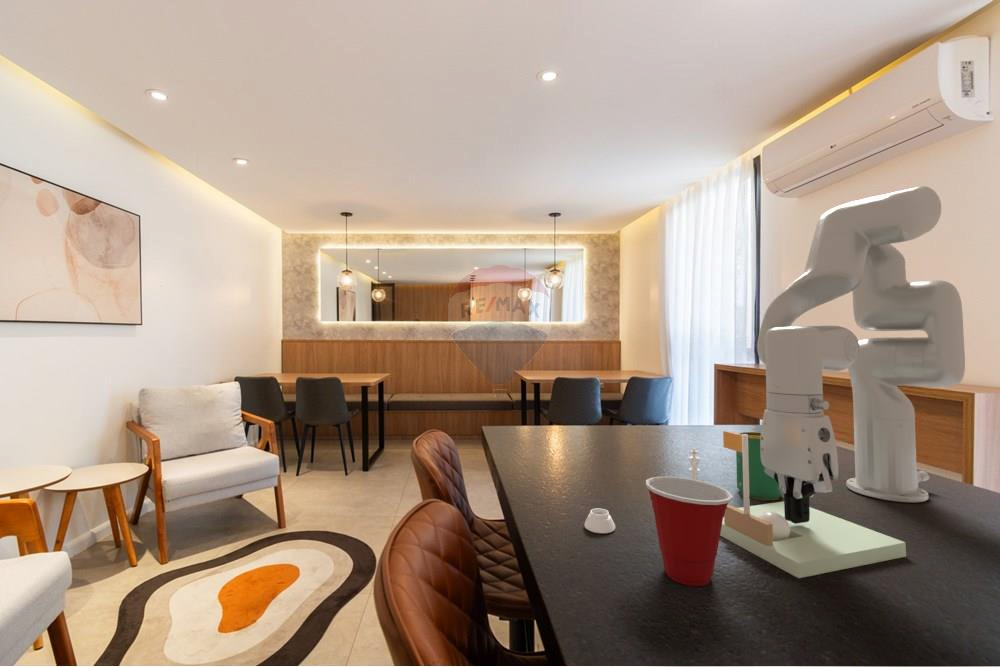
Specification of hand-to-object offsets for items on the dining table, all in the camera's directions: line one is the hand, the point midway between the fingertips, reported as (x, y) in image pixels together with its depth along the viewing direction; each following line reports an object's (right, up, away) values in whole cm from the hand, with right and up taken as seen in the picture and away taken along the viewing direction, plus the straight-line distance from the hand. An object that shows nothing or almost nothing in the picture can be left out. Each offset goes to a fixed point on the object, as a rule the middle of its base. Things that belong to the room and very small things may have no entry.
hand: (797, 520), depth 70 cm
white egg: (-5, 0, -2) cm, 5 cm away
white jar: (-30, -4, +5) cm, 31 cm away
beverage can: (+6, -4, +20) cm, 22 cm away
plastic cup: (-22, -3, -10) cm, 24 cm away
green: (-1, -3, 0) cm, 3 cm away
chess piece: (-8, -4, +18) cm, 20 cm away
